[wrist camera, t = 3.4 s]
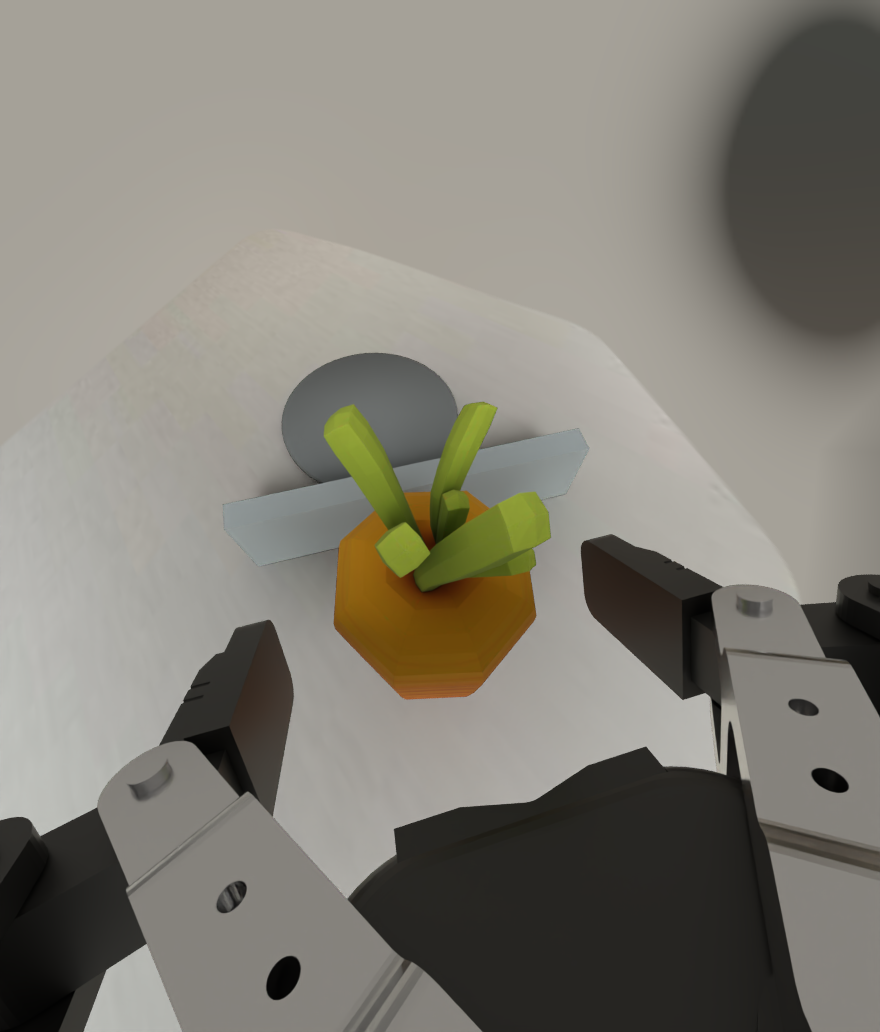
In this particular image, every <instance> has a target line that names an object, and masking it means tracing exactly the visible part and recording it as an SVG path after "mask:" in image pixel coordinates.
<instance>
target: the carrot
mask: <svg viewBox="0 0 880 1032" xmlns="http://www.w3.org/2000/svg"><path fill="white" fill-rule="evenodd" d="M496 410H497V407H494V406H492V405H490V404H487V403H485V402H478V403H471V404H468V405H465V406H464V407H463V409H462V410H461V412H460V414H459V416H458V417H457V419H456V421H455V423H454V425H453V427H452V430H451V432H450V434H449V436H448V439H447V441H446V443H445V446H444V449H443V452H442V455H441V458H440V461H439V464H438V467H437V471H436V474H435V478H434V481H433V485H432V489H431V492H405V493H403V491H402V488H401V486H400V484H399V481H398V479H397V477H396V475H395V472H394V470H393V468H392V466H391V463H390V461H389V459H388V457H387V454H386V452H385V450H384V448H383V446H382V445H381V443H380V441H379V440H378V438H377V436H376V435H375V433H374V431H373V430H372V428H371V426H370V425H369V423H368V421H367V420H366V419H365V418H364V416H363V415H362V414H361V413H360V411H359V410H358V409H357V408H356V406H355V405H354V404H353V405H349V406H346V407H343V408H340V409H339V410H338V411H337V412H335V413H334V414H333V415H332V416H330V418H329V419H328V421H327V422H326V424H325V426H324V438H325V439H326V441H327V443H328V444H329V446H330V447H331V449H332V450H333V452H334V454H335V455H336V456H337V458H338V459H339V460H340V462H341V463H342V464H343V466H344V467H345V468H346V470H347V471H348V472H349V473H350V475H351V476H352V478H353V479H354V480H355V482H356V483H357V485H358V486H359V488H360V489H361V491H362V492H363V494H364V495H365V497H366V498H367V500H368V501H369V502H370V504H371V505H372V507H373V508H374V510H375V511H374V512H372V513H371V514H370V515H369V516H368V517H367V518H366V519H365V520H363V521H362V522H361V523H360V524H359V525H358V526H357V527H355V528H354V529H353V530H352V531H351V532H350V533H349V534H348V535H346V536H345V537H344V538H343V539H342V540H341V541H340V544H339V552H338V567H337V581H336V596H335V611H334V626H335V629H336V630H337V631H338V632H339V633H340V634H341V635H342V636H343V638H344V639H345V640H346V641H347V642H348V643H349V644H350V645H351V646H352V647H353V648H354V649H355V650H356V651H357V652H358V653H359V654H360V655H361V656H362V657H363V658H364V659H365V660H366V661H367V662H368V663H369V664H370V665H371V666H372V667H373V668H374V669H375V671H376V672H377V673H378V674H379V675H380V676H381V677H382V678H383V679H384V680H385V681H386V682H387V683H388V684H389V685H390V686H391V687H392V688H393V689H394V690H395V691H396V692H397V693H398V694H399V695H400V696H401V697H403V698H404V699H426V698H447V697H467V696H469V695H470V694H472V693H474V692H475V691H476V690H477V689H478V688H479V687H480V686H481V685H482V684H483V683H484V682H485V681H486V679H487V678H488V677H489V676H490V674H491V673H492V672H493V671H494V669H495V668H496V667H497V666H498V665H499V663H500V662H501V661H502V660H503V658H504V657H505V656H506V655H507V654H508V652H509V651H510V650H511V649H512V647H513V646H514V645H515V644H516V643H517V641H518V640H519V639H520V638H521V636H522V635H523V634H524V633H525V631H526V630H527V629H528V628H529V627H530V625H531V624H532V623H533V622H534V620H535V618H536V610H535V603H534V596H533V590H532V583H531V576H530V570H531V569H532V568H533V567H534V566H535V565H536V560H535V554H534V550H533V549H532V548H534V547H536V546H538V545H539V544H541V543H543V542H544V541H546V540H548V539H550V538H551V535H550V524H549V514H548V511H547V509H546V508H545V506H544V504H543V503H542V501H541V500H540V498H539V497H538V495H537V493H536V492H524V493H518V494H516V495H514V496H512V497H510V498H508V499H506V500H504V501H502V502H500V503H498V504H496V505H495V506H493V507H491V508H489V507H487V506H486V505H485V504H483V503H482V502H481V501H480V500H478V499H477V498H476V497H474V496H473V495H472V494H470V493H469V492H468V491H460V490H461V487H462V485H463V483H464V480H465V478H466V476H467V473H468V471H469V469H470V467H471V465H472V463H473V460H474V458H475V456H476V454H477V452H478V450H479V448H480V446H481V444H482V442H483V440H484V437H485V435H486V433H487V431H488V429H489V427H490V425H491V423H492V420H493V418H494V415H495V413H496Z"/></svg>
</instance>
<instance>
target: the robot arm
mask: <svg viewBox="0 0 880 1032" xmlns="http://www.w3.org/2000/svg"><path fill="white" fill-rule="evenodd" d="M581 559H582V571H583V583H584V594H585V600H586V603H587V606H588V608H589V610H590V612H591V614H592V615H593V617H594V618H595V619H596V620H597V621H598V622H599V623H600V624H602V625H603V626H604V627H605V628H606V629H607V630H608V631H609V632H610V633H611V634H612V635H613V636H614V637H616V638H617V639H618V640H619V641H620V642H621V643H622V644H623V645H624V646H625V647H626V648H627V649H628V650H630V651H631V652H632V653H633V654H634V655H635V656H636V657H637V658H638V659H639V660H640V661H641V662H642V663H644V664H645V665H646V666H647V667H648V668H649V669H650V670H651V671H652V672H653V673H654V674H655V675H656V676H658V677H659V678H660V679H661V680H662V681H663V682H664V683H665V684H666V685H667V686H668V687H669V688H670V689H671V690H673V691H674V692H675V693H676V694H677V695H678V696H679V697H680V698H681V699H682V700H684V699H687V698H690V697H694V696H697V695H700V694H703V693H706V694H708V695H709V696H710V717H711V726H712V735H713V743H714V752H715V761H716V770H717V772H713V771H709V770H704V769H697V768H690V767H672V766H669V767H663V766H662V765H661V764H660V763H659V762H658V760H657V759H656V758H655V757H654V756H653V754H652V753H651V752H650V751H649V750H648V748H647V747H643V748H640V749H637V750H634V751H631V752H628V753H625V754H622V755H619V756H616V757H613V758H610V759H607V760H603V761H600V762H597V763H594V764H591V765H588V766H587V767H585V768H583V769H582V770H580V771H579V772H577V773H576V774H574V775H573V776H571V777H570V778H568V779H567V780H565V781H564V782H562V783H561V784H559V785H558V786H556V787H555V788H553V789H552V790H550V791H549V792H547V793H546V794H544V795H543V796H541V797H540V798H538V799H536V800H534V801H531V802H526V803H515V804H501V805H487V806H473V807H460V808H457V809H454V810H451V811H448V812H445V813H441V814H438V815H435V816H432V817H429V818H426V819H423V820H420V821H417V822H414V823H411V824H408V825H405V826H402V827H399V828H396V829H394V834H395V843H396V853H397V855H395V856H394V857H392V858H391V859H389V860H388V861H386V862H385V863H384V864H382V865H381V866H380V867H379V868H377V869H376V870H375V871H374V872H372V873H371V874H370V875H369V876H368V877H367V878H366V879H365V880H364V881H363V882H362V883H361V884H360V885H359V886H358V887H357V888H356V889H355V890H354V892H353V893H352V894H351V895H350V896H349V898H348V899H346V898H345V896H344V895H343V894H342V893H341V892H340V891H339V890H338V889H337V888H336V886H335V885H334V884H333V883H332V882H331V881H330V880H329V879H328V878H327V877H326V875H325V874H324V873H323V872H322V871H321V870H320V869H319V868H318V867H317V865H316V864H315V863H314V862H313V861H312V860H311V859H310V858H309V857H308V856H307V854H306V853H305V852H304V851H303V850H302V849H301V848H300V847H299V846H298V844H297V843H296V842H295V841H294V840H293V839H292V838H291V837H290V836H289V835H288V833H287V832H286V831H285V830H284V829H283V828H282V827H281V826H280V825H279V823H278V822H277V821H276V820H275V819H274V818H273V811H274V806H275V800H276V795H277V789H278V784H279V778H280V772H281V767H282V761H283V756H284V750H285V744H286V739H287V733H288V728H289V722H290V716H291V711H292V705H293V698H294V693H293V683H292V678H291V674H290V671H289V668H288V665H287V662H286V659H285V656H284V653H283V650H282V647H281V644H280V641H279V638H278V635H277V632H276V630H275V627H274V625H273V623H272V622H271V621H270V620H266V621H262V622H258V623H254V624H250V625H246V626H242V627H238V628H236V629H235V631H234V633H233V635H232V637H231V639H230V641H229V643H228V645H227V648H226V650H225V652H223V653H219V654H216V655H215V656H214V657H213V658H212V659H211V660H210V661H209V662H207V663H206V664H205V665H204V666H203V667H202V668H201V669H200V670H199V672H198V674H197V676H196V677H195V679H194V681H193V683H192V685H191V689H190V690H189V691H188V692H187V694H186V696H185V698H184V700H183V701H184V703H183V704H181V706H180V707H179V709H178V711H177V713H176V715H175V717H174V719H173V720H172V722H171V724H170V726H169V728H168V730H167V732H166V734H165V735H164V737H163V739H162V741H161V743H160V745H159V746H157V747H155V748H153V749H151V750H149V751H147V752H145V753H143V754H142V755H140V756H138V757H137V758H135V759H134V760H132V761H131V762H129V763H128V764H127V765H126V766H124V767H123V768H122V769H121V770H120V771H119V772H118V773H117V774H116V775H115V776H114V777H113V778H112V779H111V780H110V781H109V782H108V784H107V785H106V786H105V788H104V789H103V791H102V793H101V795H100V797H99V800H98V805H97V808H95V809H93V810H92V811H90V812H88V813H86V814H84V815H82V816H80V817H78V818H76V819H74V820H72V821H70V822H68V823H66V824H64V825H62V826H60V827H58V828H56V829H54V830H52V831H50V832H48V833H46V834H44V835H42V836H40V835H39V834H38V832H37V831H36V829H35V827H34V826H33V824H32V823H31V821H30V820H29V819H27V818H24V817H14V818H8V819H4V820H1V821H0V1032H83V1031H84V1029H85V1026H86V1023H87V1021H88V1018H89V1015H90V1012H91V1010H92V1007H93V1004H94V1002H95V999H96V996H97V994H98V991H99V988H100V986H101V983H102V980H103V978H104V975H105V972H106V970H107V969H108V968H110V967H111V966H113V965H114V964H116V963H118V962H119V961H121V960H122V959H124V958H125V957H127V956H128V955H130V954H131V953H133V952H134V951H136V950H138V949H139V948H141V947H142V946H144V945H145V944H147V945H148V948H149V950H150V953H151V955H152V957H153V960H154V962H155V965H156V967H157V970H158V972H159V975H160V977H161V980H162V982H163V985H164V987H165V990H166V992H167V995H168V997H169V1000H170V1002H171V1005H172V1007H173V1009H174V1012H175V1014H176V1017H177V1019H178V1022H179V1024H180V1027H181V1029H182V1032H880V575H856V576H851V577H847V578H845V579H843V580H841V581H840V582H839V584H838V590H837V599H836V602H835V603H834V602H833V603H819V604H805V605H800V604H799V603H798V601H797V600H796V599H794V598H793V597H792V596H790V595H788V594H786V593H784V592H782V591H779V590H776V589H773V588H769V587H764V586H758V585H731V586H726V587H722V586H720V585H718V584H716V583H714V582H712V581H711V580H709V579H707V578H705V577H703V576H701V575H699V574H697V573H695V572H693V571H692V570H690V569H688V568H686V569H685V568H684V566H682V565H680V564H678V563H676V562H675V561H674V562H672V561H671V559H669V558H667V557H665V556H663V555H661V554H659V553H657V552H655V551H651V550H647V549H643V548H639V547H635V546H633V545H631V544H629V543H628V542H626V541H624V540H622V539H620V538H618V537H617V536H615V535H612V534H610V535H606V536H602V537H598V538H594V539H590V540H586V541H584V542H583V543H582V545H581Z"/></svg>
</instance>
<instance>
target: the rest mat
mask: <svg viewBox="0 0 880 1032" xmlns="http://www.w3.org/2000/svg"><path fill="white" fill-rule="evenodd" d="M353 404H354V405H355V406H356V408H357V409H358V410H359V411H360V413H361V414H362V415H363V416H364V418H365V419H366V420H367V421H368V423H369V425H370V426H371V428H372V430H373V431H374V433H375V435H376V436H377V438H378V440H379V441H380V443H381V445H382V446H383V448H384V450H385V452H386V454H387V457H388V459H389V461H390V463H391V466H392V468H396V467H400V466H405V465H410V464H414V463H419V462H424V461H428V460H433V459H438V458H441V455H442V452H443V449H444V446H445V443H446V441H447V439H448V436H449V434H450V432H451V430H452V427H453V425H454V423H455V421H456V419H457V417H458V415H457V406H456V403H455V399H454V397H453V395H452V393H451V391H450V389H449V388H448V386H447V385H446V383H445V382H444V381H443V380H442V379H441V378H440V376H438V375H437V374H436V373H435V372H434V371H432V370H431V369H429V368H428V367H426V366H425V365H423V364H421V363H419V362H417V361H414V360H412V359H409V358H406V357H402V356H398V355H393V354H386V353H364V354H356V355H351V356H347V357H343V358H340V359H337V360H334V361H332V362H330V363H327V364H325V365H323V366H321V367H320V368H318V369H316V370H315V371H313V372H312V373H311V374H309V375H308V376H307V377H306V378H304V379H303V380H302V381H301V382H300V383H299V384H298V386H297V387H296V388H295V389H294V391H293V392H292V394H291V395H290V397H289V399H288V401H287V403H286V405H285V408H284V412H283V416H282V434H283V438H284V442H285V444H286V447H287V449H288V451H289V453H290V455H291V457H292V458H293V460H294V461H295V463H296V464H297V465H298V466H299V467H300V468H301V470H303V471H304V472H305V473H306V474H307V475H309V476H310V477H311V478H313V479H315V480H316V481H318V482H320V483H326V482H330V481H335V480H340V479H344V478H349V477H352V476H351V475H350V473H349V472H348V471H347V470H346V468H345V467H344V466H343V464H342V463H341V462H340V460H339V459H338V458H337V456H336V455H335V454H334V452H333V450H332V449H331V447H330V446H329V444H328V443H327V441H326V439H325V438H324V426H325V424H326V422H327V421H328V419H329V418H330V416H332V415H333V414H334V413H335V412H337V411H338V410H339V409H340V408H343V407H346V406H349V405H353Z"/></svg>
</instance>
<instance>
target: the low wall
mask: <svg viewBox="0 0 880 1032" xmlns="http://www.w3.org/2000/svg"><path fill="white" fill-rule="evenodd" d="M588 450H589V447H588V445H587V443H586V441H585V439H584V437H583V435H582V433H581V432H580V430H579V428H577V429H573V430H568V431H563V432H559V433H554V434H549V435H545V436H540V437H535V438H531V439H526V440H521V441H517V442H512V443H508V444H503V445H498V446H494V447H489V448H484V449H480V450H478V452H477V454H476V456H475V458H474V460H473V463H472V465H471V467H470V469H469V471H468V473H467V476H466V478H465V480H464V483H463V485H462V487H461V490H460V491H468V492H469V493H470V494H472V495H473V496H474V497H476V498H477V499H478V500H480V501H481V502H482V503H483V504H485V505H486V506H487V507H489V508H491V507H493V506H495V505H496V504H498V503H500V502H502V501H504V500H506V499H508V498H510V497H512V496H514V495H516V494H518V493H524V492H536V493H537V495H538V497H539V498H540V500H543V499H547V498H551V497H555V496H559V495H564V494H566V493H567V491H568V489H569V487H570V485H571V483H572V481H573V479H574V477H575V475H576V473H577V471H578V470H579V468H580V466H581V464H582V462H583V460H584V458H585V456H586V454H587V452H588ZM439 461H440V458H438V459H433V460H428V461H424V462H419V463H414V464H410V465H405V466H400V467H396V468H393V470H394V472H395V475H396V477H397V479H398V481H399V484H400V486H401V488H402V491H403V493H405V492H431V489H432V485H433V481H434V478H435V474H436V471H437V467H438V464H439ZM374 511H375V510H374V508H373V507H372V505H371V504H370V502H369V501H368V500H367V498H366V497H365V495H364V494H363V492H362V491H361V489H360V488H359V486H358V485H357V483H356V482H355V480H354V479H353V478H352V477H349V478H344V479H340V480H335V481H330V482H326V483H321V484H316V485H312V486H307V487H303V488H298V489H293V490H289V491H284V492H279V493H275V494H270V495H265V496H261V497H256V498H251V499H247V500H242V501H237V502H233V503H228V504H223V518H224V530H225V531H226V532H227V533H228V534H229V535H230V537H231V538H232V539H233V540H234V541H235V542H236V543H237V544H238V545H239V546H240V547H241V548H242V549H243V550H244V551H245V553H246V554H247V555H248V556H249V557H250V558H251V559H252V560H253V561H254V562H255V563H256V564H257V565H258V566H263V565H267V564H271V563H276V562H280V561H284V560H288V559H293V558H297V557H301V556H305V555H310V554H314V553H318V552H322V551H326V550H331V549H335V548H339V544H340V541H341V540H342V539H343V538H344V537H345V536H346V535H348V534H349V533H350V532H351V531H352V530H353V529H354V528H355V527H357V526H358V525H359V524H360V523H361V522H362V521H363V520H365V519H366V518H367V517H368V516H369V515H370V514H371V513H372V512H374Z"/></svg>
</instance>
